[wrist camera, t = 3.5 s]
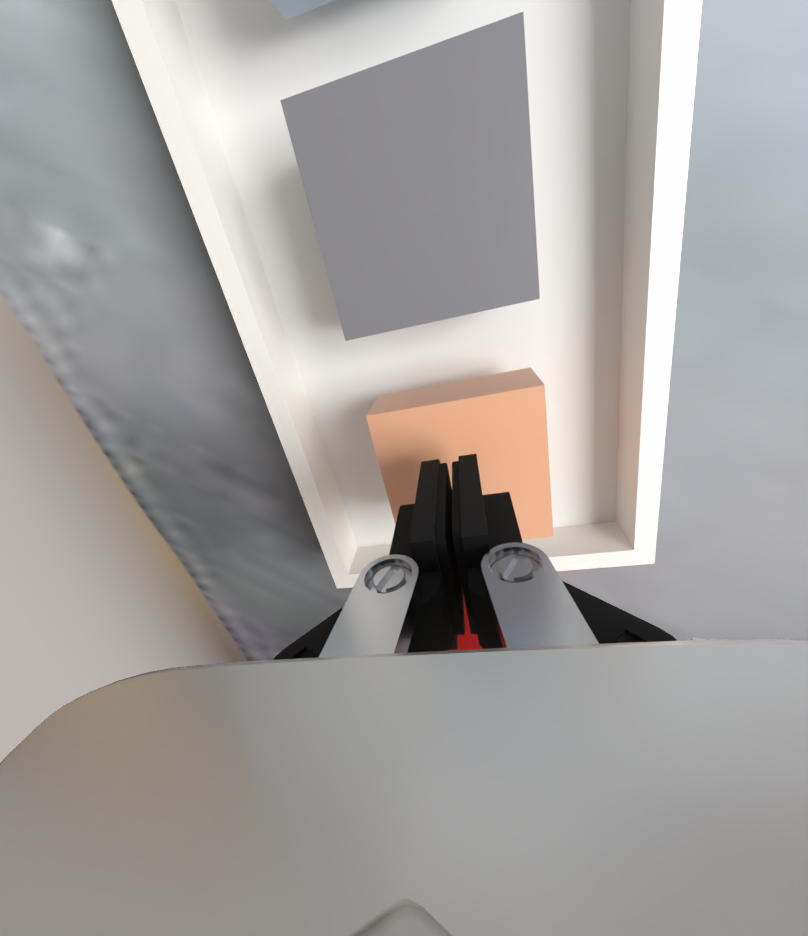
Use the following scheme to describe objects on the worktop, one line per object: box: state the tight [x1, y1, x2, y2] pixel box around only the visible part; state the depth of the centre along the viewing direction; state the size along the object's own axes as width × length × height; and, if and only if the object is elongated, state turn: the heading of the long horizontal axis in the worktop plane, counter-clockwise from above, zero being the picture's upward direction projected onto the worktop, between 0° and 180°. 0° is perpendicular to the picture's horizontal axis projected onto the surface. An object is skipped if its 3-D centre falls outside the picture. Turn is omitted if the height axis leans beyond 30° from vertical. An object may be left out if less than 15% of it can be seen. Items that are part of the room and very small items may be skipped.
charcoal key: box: [280, 12, 540, 341], centre depth 11 cm, size 6×6×2 cm
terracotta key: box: [366, 367, 553, 540], centre depth 14 cm, size 6×6×2 cm
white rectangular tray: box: [112, 0, 702, 589], centre depth 13 cm, size 14×28×3 cm, turn 12°
